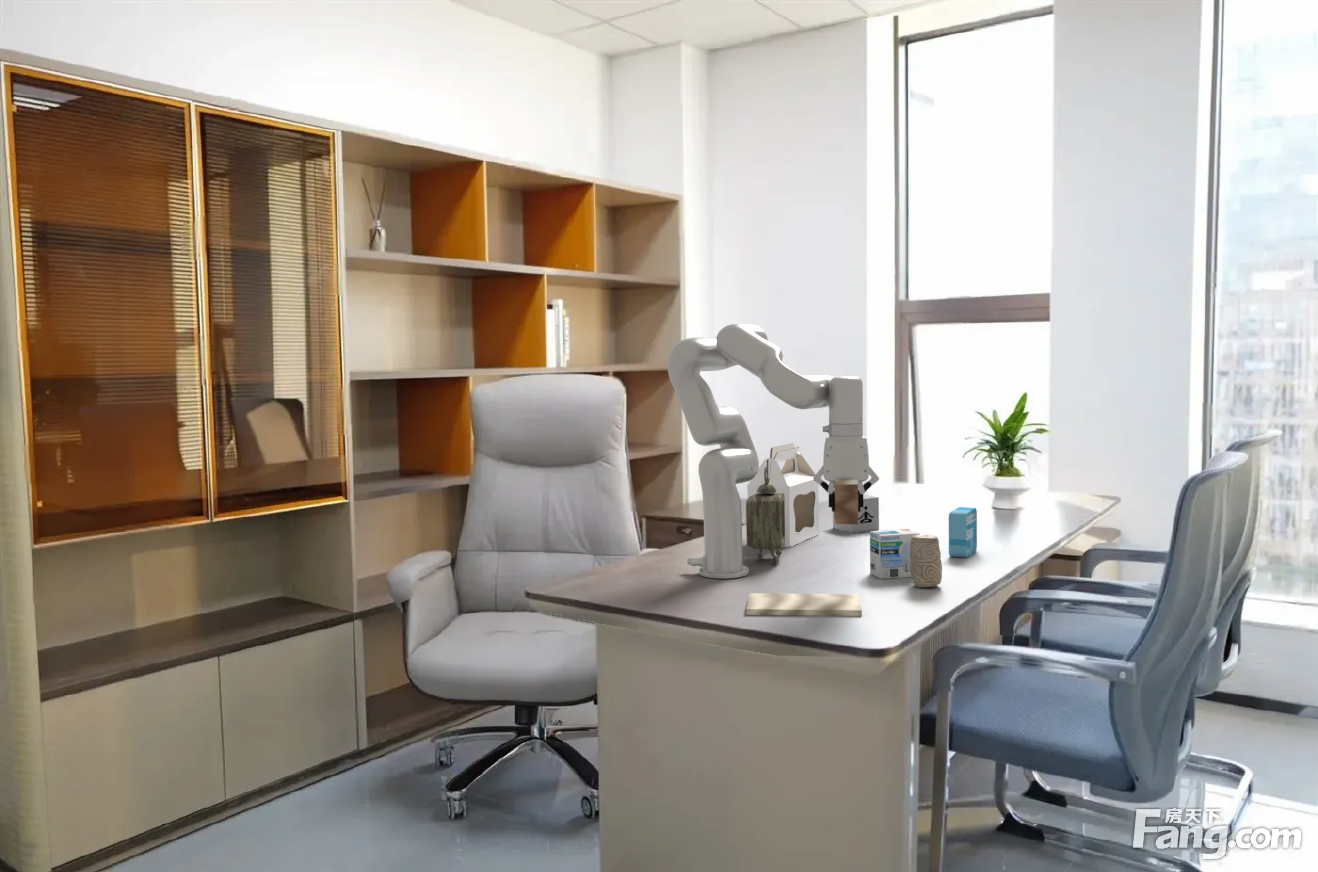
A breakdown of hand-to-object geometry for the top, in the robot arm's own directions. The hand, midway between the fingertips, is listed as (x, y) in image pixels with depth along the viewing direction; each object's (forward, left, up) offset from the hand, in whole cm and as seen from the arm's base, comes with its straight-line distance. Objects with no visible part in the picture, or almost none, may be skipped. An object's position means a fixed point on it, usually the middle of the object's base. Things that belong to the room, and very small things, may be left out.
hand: (846, 509), depth 225 cm
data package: (+32, +44, -19) cm, 58 cm away
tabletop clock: (-20, +35, -19) cm, 44 cm away
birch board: (-10, -14, -19) cm, 26 cm away
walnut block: (0, 0, -3) cm, 3 cm away
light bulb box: (+12, +18, -19) cm, 29 cm away
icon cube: (+6, +83, -19) cm, 85 cm away
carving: (+18, +6, -19) cm, 27 cm away
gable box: (-16, +65, -19) cm, 70 cm away
